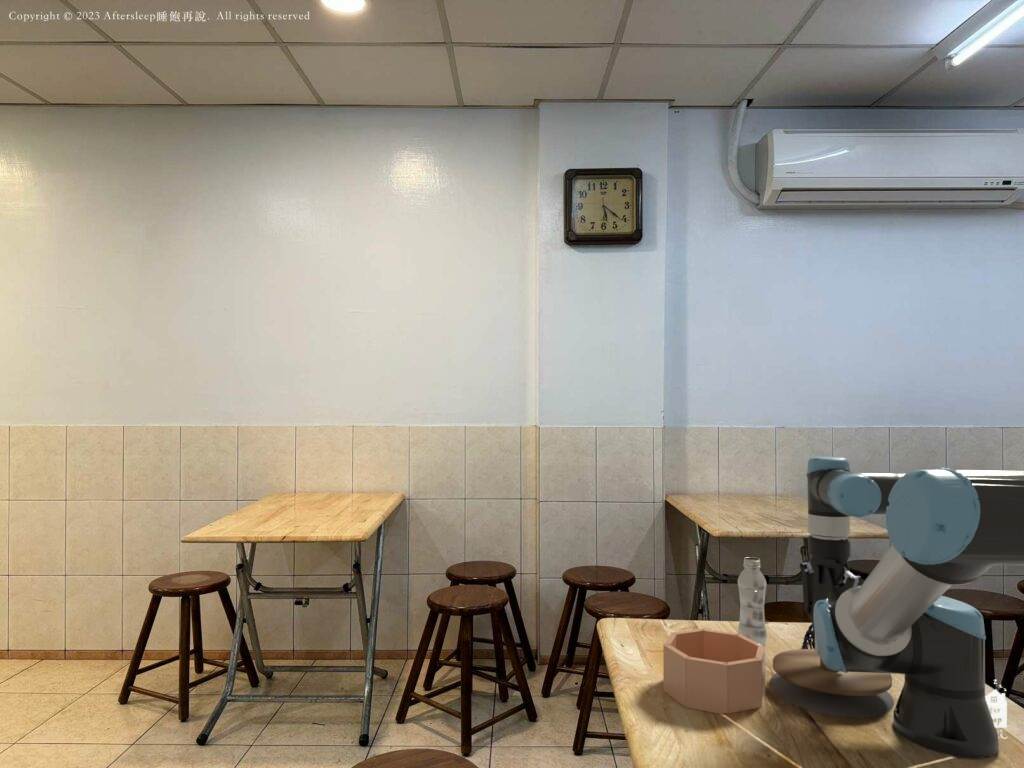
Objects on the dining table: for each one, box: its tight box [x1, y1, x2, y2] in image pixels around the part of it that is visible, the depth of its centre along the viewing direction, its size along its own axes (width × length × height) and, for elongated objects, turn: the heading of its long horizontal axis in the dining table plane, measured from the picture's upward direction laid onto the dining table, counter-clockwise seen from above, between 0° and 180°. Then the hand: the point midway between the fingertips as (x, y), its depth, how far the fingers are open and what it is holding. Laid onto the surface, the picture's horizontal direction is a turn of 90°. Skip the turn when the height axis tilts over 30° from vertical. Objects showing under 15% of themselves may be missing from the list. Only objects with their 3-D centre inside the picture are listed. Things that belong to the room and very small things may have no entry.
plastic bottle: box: [737, 556, 768, 646], centre depth 159 cm, size 6×7×20 cm
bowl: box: [662, 628, 766, 716], centre depth 134 cm, size 18×18×9 cm
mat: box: [769, 672, 895, 718], centre depth 134 cm, size 22×22×1 cm
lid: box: [772, 648, 893, 696], centre depth 134 cm, size 21×21×11 cm
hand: (830, 657), depth 134 cm, fingers closed on lid, 4 cm apart
